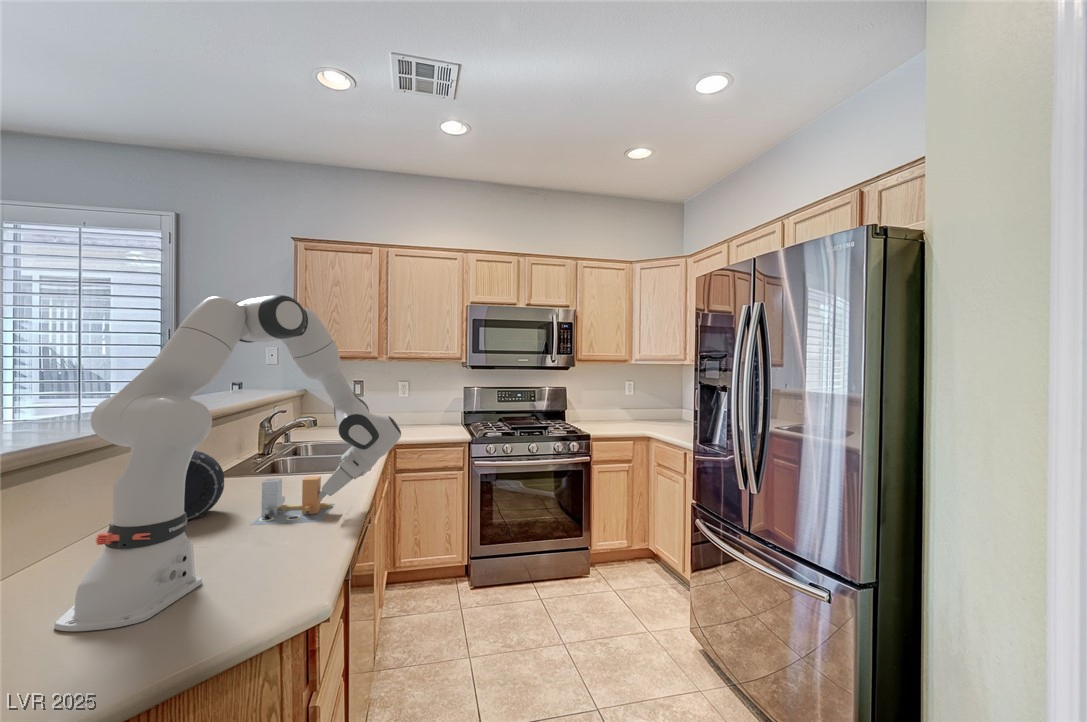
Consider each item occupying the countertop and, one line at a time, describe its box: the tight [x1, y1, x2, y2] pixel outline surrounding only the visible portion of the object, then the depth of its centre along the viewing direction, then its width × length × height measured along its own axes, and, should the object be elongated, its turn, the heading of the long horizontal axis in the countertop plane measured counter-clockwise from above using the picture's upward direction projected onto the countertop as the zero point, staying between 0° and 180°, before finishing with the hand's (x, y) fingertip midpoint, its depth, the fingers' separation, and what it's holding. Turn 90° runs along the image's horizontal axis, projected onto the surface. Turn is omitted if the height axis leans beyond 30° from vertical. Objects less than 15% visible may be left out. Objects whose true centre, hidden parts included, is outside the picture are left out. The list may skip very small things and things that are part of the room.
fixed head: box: [260, 477, 286, 518], centre depth 139 cm, size 12×4×10 cm, turn 12°
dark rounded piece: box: [184, 450, 225, 522], centre depth 135 cm, size 11×20×20 cm, turn 119°
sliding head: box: [301, 475, 323, 515], centre depth 141 cm, size 12×4×10 cm, turn 12°
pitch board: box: [250, 502, 335, 526], centre depth 139 cm, size 17×18×2 cm
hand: (320, 495), depth 140 cm, fingers closed, pressing on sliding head
